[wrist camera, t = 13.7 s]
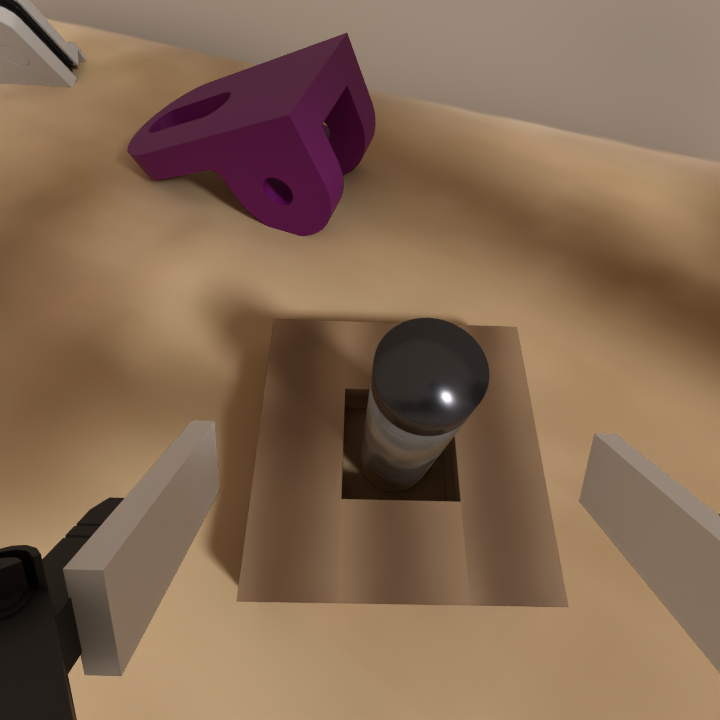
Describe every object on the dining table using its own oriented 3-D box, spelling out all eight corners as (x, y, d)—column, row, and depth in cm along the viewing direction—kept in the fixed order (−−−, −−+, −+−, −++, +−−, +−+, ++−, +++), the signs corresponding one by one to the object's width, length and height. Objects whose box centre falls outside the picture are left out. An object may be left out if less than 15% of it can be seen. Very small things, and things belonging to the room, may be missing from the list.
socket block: (500, 350, 29) (516, 326, 26) (540, 603, 22) (568, 607, 19) (280, 343, 28) (273, 318, 26) (249, 598, 22) (236, 601, 19)
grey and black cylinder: (425, 426, 26) (482, 319, 16) (429, 492, 24) (496, 424, 14) (360, 424, 26) (373, 316, 15) (359, 491, 24) (373, 420, 14)
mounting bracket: (182, 245, 40) (348, 232, 31) (106, 163, 34) (288, 115, 24) (230, 179, 44) (389, 150, 35) (171, 95, 38) (347, 32, 29)
